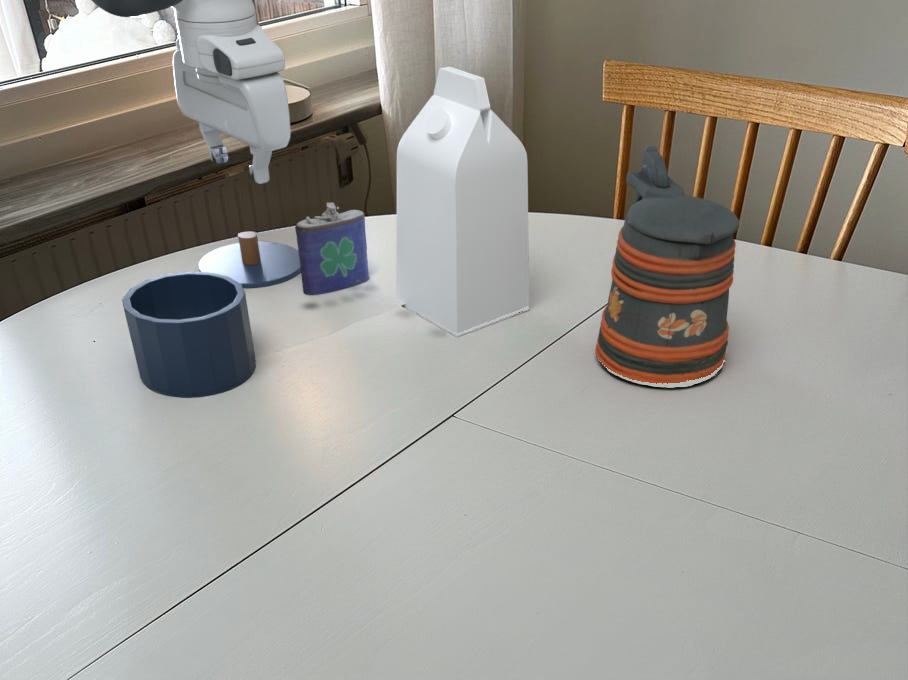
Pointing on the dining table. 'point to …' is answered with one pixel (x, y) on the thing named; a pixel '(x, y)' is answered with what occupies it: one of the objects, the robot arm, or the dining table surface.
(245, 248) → the pot lid
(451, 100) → the milk
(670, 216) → the beer stein
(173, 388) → the pot
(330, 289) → the flask
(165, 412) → the dining table surface
